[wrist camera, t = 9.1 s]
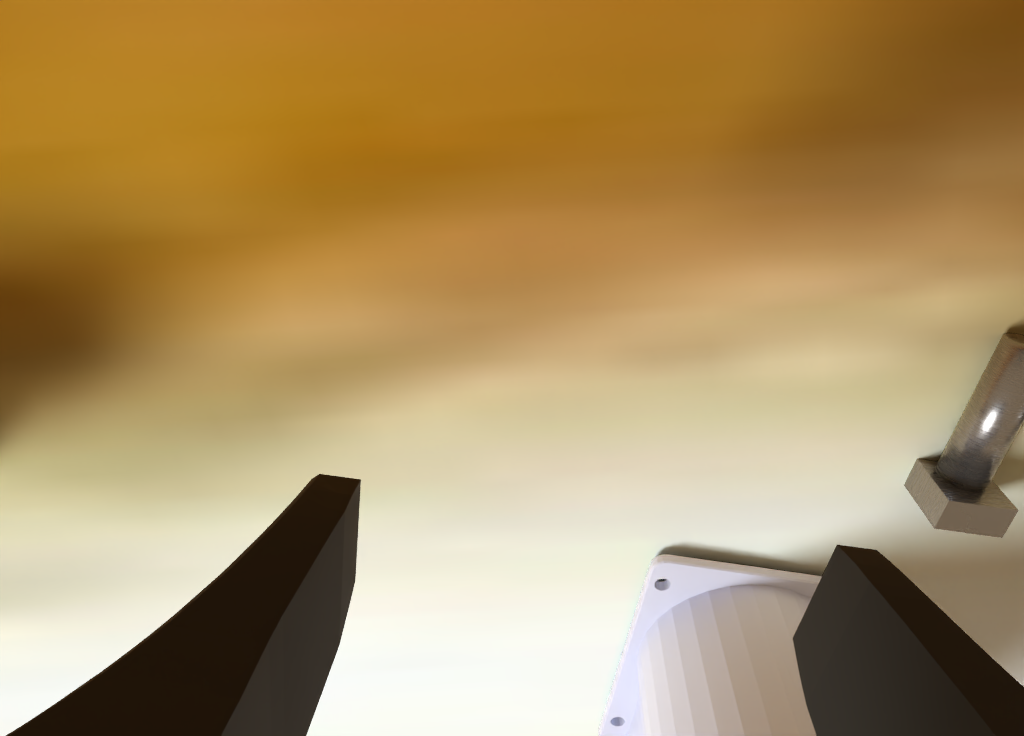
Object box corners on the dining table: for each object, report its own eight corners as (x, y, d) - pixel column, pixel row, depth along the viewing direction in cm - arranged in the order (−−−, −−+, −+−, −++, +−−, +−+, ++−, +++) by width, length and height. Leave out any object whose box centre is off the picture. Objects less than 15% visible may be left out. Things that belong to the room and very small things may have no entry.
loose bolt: (966, 493, 23) (1002, 537, 21) (904, 485, 23) (934, 528, 21) (1052, 338, 20) (1100, 374, 19) (981, 328, 20) (1023, 362, 19)
